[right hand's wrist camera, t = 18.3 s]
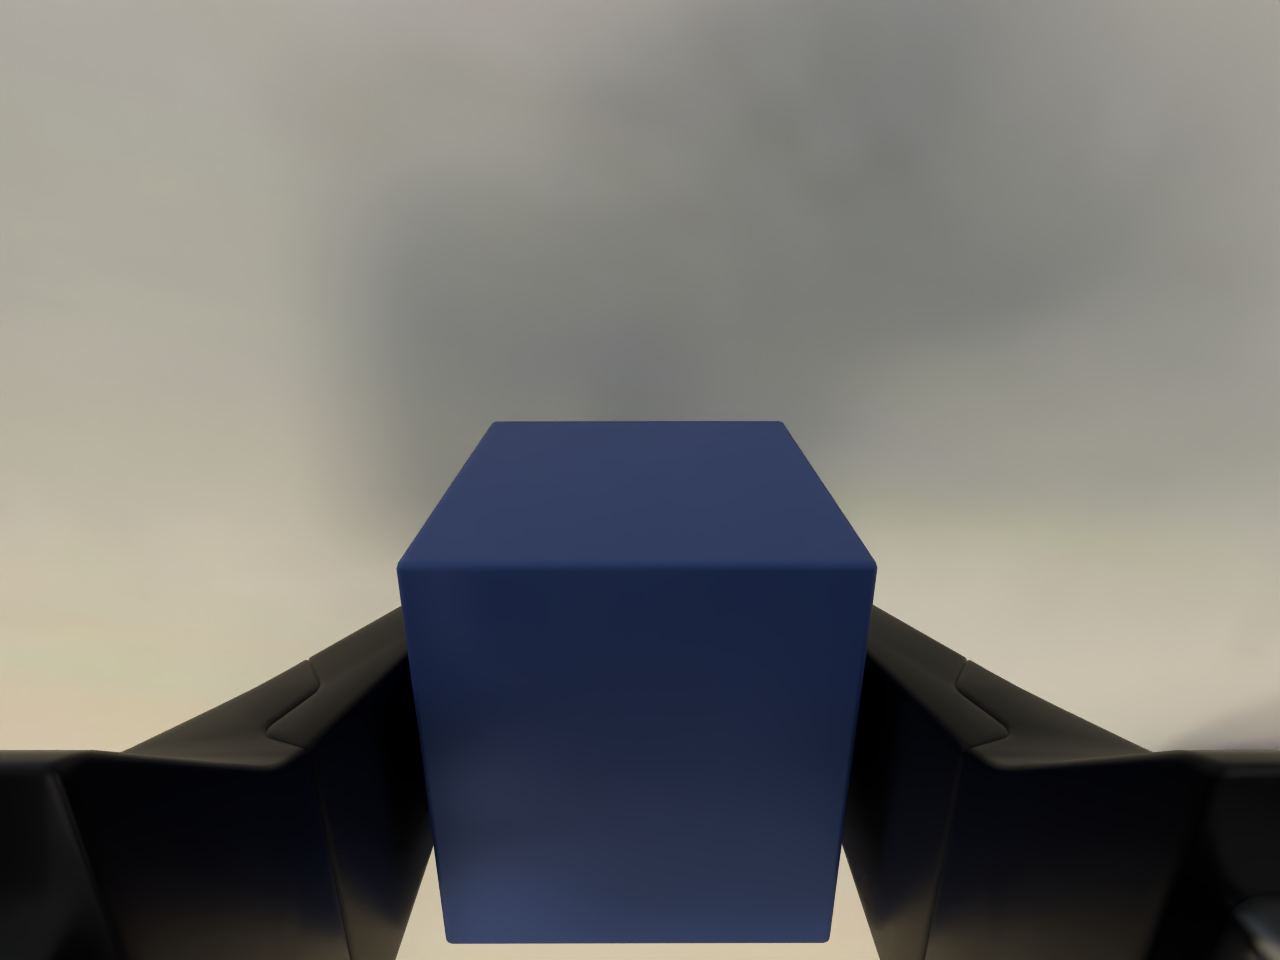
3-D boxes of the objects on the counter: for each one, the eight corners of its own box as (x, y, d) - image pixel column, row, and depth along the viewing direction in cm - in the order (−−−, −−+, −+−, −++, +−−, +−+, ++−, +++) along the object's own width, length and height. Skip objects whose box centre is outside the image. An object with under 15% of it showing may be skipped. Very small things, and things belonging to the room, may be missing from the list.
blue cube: (783, 419, 12) (880, 563, 7) (764, 688, 13) (830, 947, 9) (492, 420, 12) (392, 564, 7) (512, 689, 13) (445, 947, 9)
